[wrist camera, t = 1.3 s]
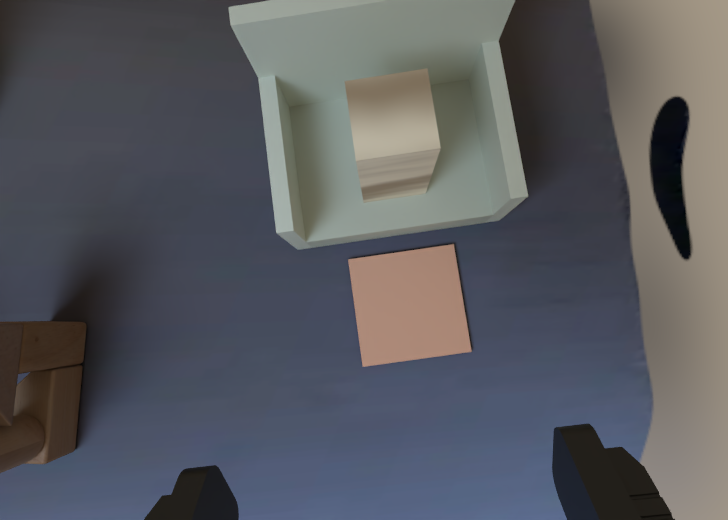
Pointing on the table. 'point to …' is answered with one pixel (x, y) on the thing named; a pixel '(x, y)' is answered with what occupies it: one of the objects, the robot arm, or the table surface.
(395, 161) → the birch block
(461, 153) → the cubby
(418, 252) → the mat
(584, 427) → the robot arm
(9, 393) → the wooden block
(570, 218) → the table surface
